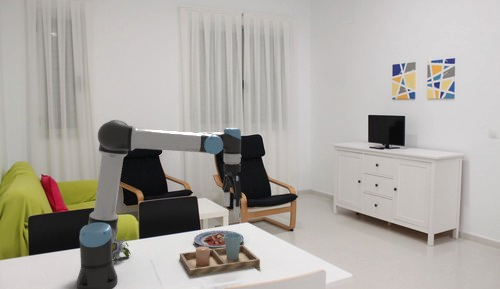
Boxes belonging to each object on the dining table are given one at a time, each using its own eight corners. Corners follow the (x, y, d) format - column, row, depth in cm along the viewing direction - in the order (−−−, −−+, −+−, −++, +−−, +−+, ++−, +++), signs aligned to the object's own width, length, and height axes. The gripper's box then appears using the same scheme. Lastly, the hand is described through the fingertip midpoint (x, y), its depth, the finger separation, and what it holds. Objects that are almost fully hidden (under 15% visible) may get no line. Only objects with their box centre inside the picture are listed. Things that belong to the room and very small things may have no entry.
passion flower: (112, 272, 185) (94, 254, 182) (116, 259, 196) (99, 241, 192) (132, 259, 185) (115, 240, 181) (135, 246, 195) (119, 228, 191)
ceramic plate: (184, 241, 213) (184, 235, 212) (222, 231, 230) (222, 226, 230) (214, 255, 194) (214, 249, 193) (254, 242, 211) (254, 237, 211)
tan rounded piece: (197, 267, 175) (197, 252, 175) (194, 262, 181) (194, 247, 180) (211, 265, 178) (211, 250, 177) (207, 260, 183) (207, 245, 182)
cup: (243, 259, 185) (243, 237, 184) (227, 261, 182) (227, 239, 181) (237, 253, 192) (237, 232, 191) (222, 256, 189) (222, 234, 188)
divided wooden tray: (190, 278, 167) (190, 270, 167) (179, 260, 186) (179, 253, 185) (259, 267, 179) (259, 259, 178) (243, 252, 197) (243, 245, 197)
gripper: (250, 166, 170) (249, 216, 172) (230, 159, 193) (230, 202, 195) (233, 167, 168) (232, 217, 170) (215, 159, 191) (215, 204, 193)
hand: (231, 209), depth 183 cm, fingers open, 13 cm apart
